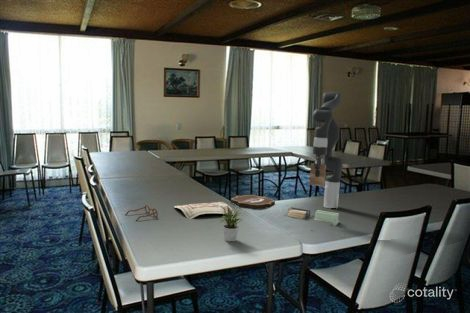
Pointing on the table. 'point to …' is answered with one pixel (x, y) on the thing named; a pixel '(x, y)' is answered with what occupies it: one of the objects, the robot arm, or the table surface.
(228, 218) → the house plant
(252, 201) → the decorative plaque
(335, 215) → the slotted stand
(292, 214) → the offcut lower
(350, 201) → the table surface
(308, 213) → the offcut rack
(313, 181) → the walnut sheet
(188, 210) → the poster
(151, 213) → the glasses
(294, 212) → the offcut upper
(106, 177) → the table surface
